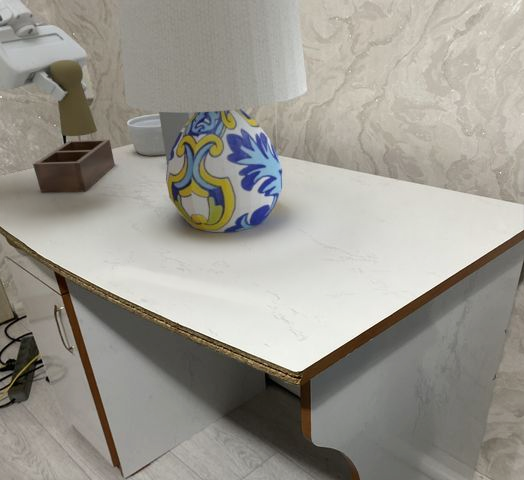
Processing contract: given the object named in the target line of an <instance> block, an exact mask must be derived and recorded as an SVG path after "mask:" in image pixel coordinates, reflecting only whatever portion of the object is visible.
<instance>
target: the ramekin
mask: <svg viewBox="0 0 524 480" xmlns="http://www.w3.org/2000/svg"><path fill="white" fill-rule="evenodd" d="M126 127H127V130H128V131H129V135H130V138H131V142H132V145H133V148H134V150H135V151H136V152H137V153H138V154H140V155H142V156H150V157H152V156H153V157H154V156H155V157H156V156H157V157H158V156H166V154H165V148H164V141H163V135H162V128H161V122H160V115H159V113H156V114H155V113H154V114H147V115H141V116H137V117H133V118H131V119H129V120H128V121H127V122H126Z"/></svg>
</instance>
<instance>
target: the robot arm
mask: <svg viewBox="0 0 524 480" xmlns="http://www.w3.org/2000/svg"><path fill="white" fill-rule="evenodd" d="M60 60H71V61H76V62H78V64H79V65H80V66H81V69H82V70H83V68H84V66H85V65H86V62H87V61H88V54H87V52H86V50H85V49H84V47H82V46H81V45H80V44H79V43H78V42H77V41H75V40H74V39H73V38H72V37H71V36H70V35H69V34H68V33H67V32H65V31H64V29H62V28H60V27H58V26H57V25H54V24H47V23H46V22H39V23H37V19H36V16H35V15H34V13H32V11H31V10H30V9H29V8H28V7H27V6H26V5H25V4H24V3H23V2H22V1H21V0H0V85H1V86H2V87H4V88H7V89H9V90H14V89H18V88H22V87H25V86H30V85H32V84H33V85H35V86H36V87H37V88H38V89H40V90H42V91H43V92H46V93H48V94H50V95H52V97H54V98H55V99H56V100H57V102H58V101H61V100H64V99H65V98H66V97H67V95H68V91H67V90H66V89H65V88H64V87H63V86H62V85H61V84H59V85H58V84H56V83H55V82H53V81H52V79H51V77H50V73H49V68H50V65H51V64H52V63H54V62H56V61H60ZM81 84H82V87H83V90H84V93H85V92H86V91H87V89H88V86H87V84H86V83H85V82H84V81H83V80H82V81H81ZM85 94H86V93H85Z"/></svg>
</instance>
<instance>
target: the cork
mask: <svg viewBox="0 0 524 480" xmlns="http://www.w3.org/2000/svg"><path fill="white" fill-rule="evenodd" d="M49 73H50V77H51V80H52V81H53V82H55V83H56V84H58V85H59V84H61V85H62V86H63V87H64V88H65V89H66V90H67V91H68V95H67V97H66V98H65V99H64V100H61V101H58V100H57V105H58V114H59V115H58V116H59V122H60V131H61V136H65V137H80V136H86V135H91V134H94V133H96V132H97V131H98V129H97V126H96V123H95V120H94V116H93V114H92V111H91V108H90V104H89V101H88V99H87V96H86V93H84V90H83V87H82V84H81V81H83V77H84V73H83V68H82V69H81V66H80V65H79V64H78V62H76V61H71V60H60V61H56V62H54V63H52V64H51V65H50V68H49Z"/></svg>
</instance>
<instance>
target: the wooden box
mask: <svg viewBox="0 0 524 480" xmlns="http://www.w3.org/2000/svg"><path fill="white" fill-rule="evenodd" d="M112 149H113V148H112V144H111V141H110V139H89V140H88V139H87V140H86V139H85V140H84V139H83V140H68V141H66V142H65V143H63V144H62V145H60V146H59V147H57V148H56V149H54V150H53V151H51V152H50V153H48V154H46V155H45V156H43V157H42V158H40V159H39V160H37V161H36V162H34V163H32V165H33V169H34V173H35V177H36V179H37V182H38V186H39V189H40V190H39V191H40V193H74V192H75V191H76V192H77V193H78V192H87V191H88V190H89V189H91V187H93V186H94V185H95V184H96V183H97V182H99V180H100V179H102V178H103V176H105V175H106V173H109V171H110V170H111V169H113V168H114V167H115V166H116V163H115V159H114V154H113V150H112Z"/></svg>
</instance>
